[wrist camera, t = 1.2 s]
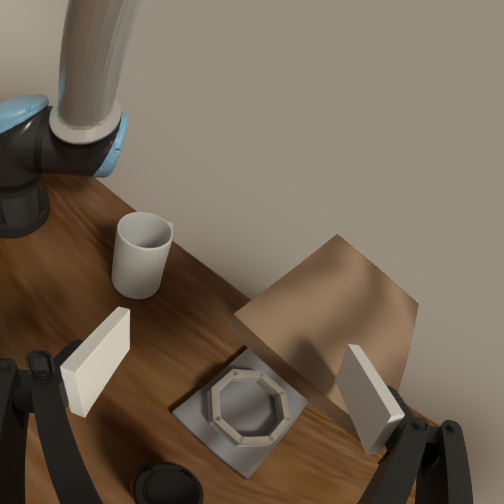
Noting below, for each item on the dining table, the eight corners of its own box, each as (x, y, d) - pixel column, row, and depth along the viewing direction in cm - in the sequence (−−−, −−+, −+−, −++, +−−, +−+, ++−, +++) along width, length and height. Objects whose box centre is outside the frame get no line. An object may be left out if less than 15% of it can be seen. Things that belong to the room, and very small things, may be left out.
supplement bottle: (125, 465, 23) (126, 456, 16) (181, 465, 26) (206, 454, 19) (135, 515, 19) (140, 530, 12) (192, 513, 22) (223, 522, 15)
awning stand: (170, 413, 31) (233, 313, 18) (256, 340, 46) (337, 233, 32) (244, 479, 27) (380, 439, 14) (313, 391, 42) (418, 304, 29)
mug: (138, 309, 41) (147, 259, 35) (101, 277, 42) (104, 225, 36) (180, 271, 51) (197, 224, 44) (146, 246, 52) (157, 198, 45)
